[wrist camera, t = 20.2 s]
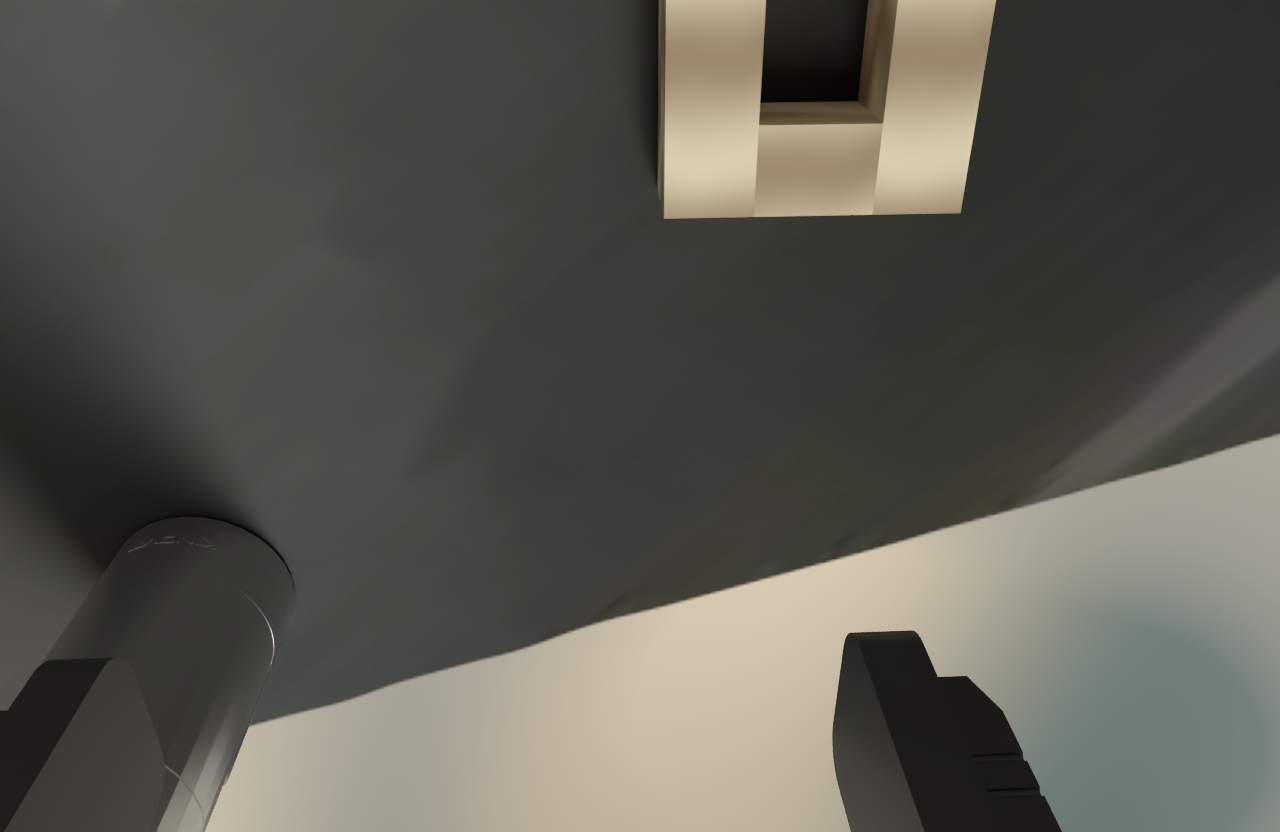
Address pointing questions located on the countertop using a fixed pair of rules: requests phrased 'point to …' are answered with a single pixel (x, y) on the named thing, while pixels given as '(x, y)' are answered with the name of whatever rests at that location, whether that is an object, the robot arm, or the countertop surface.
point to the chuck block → (818, 115)
